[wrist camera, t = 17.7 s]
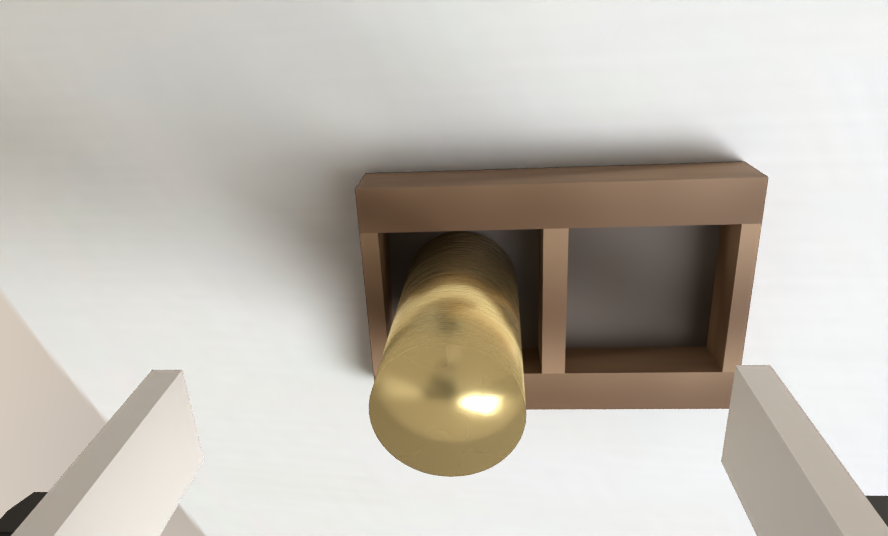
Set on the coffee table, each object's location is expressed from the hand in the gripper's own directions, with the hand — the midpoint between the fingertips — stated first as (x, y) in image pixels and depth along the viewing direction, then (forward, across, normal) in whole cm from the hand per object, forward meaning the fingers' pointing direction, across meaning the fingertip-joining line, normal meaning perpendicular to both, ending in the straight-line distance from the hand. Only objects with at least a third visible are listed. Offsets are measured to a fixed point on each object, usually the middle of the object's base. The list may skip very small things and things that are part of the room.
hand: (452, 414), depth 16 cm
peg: (+9, 0, -1) cm, 9 cm away
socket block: (+9, +3, -1) cm, 10 cm away
